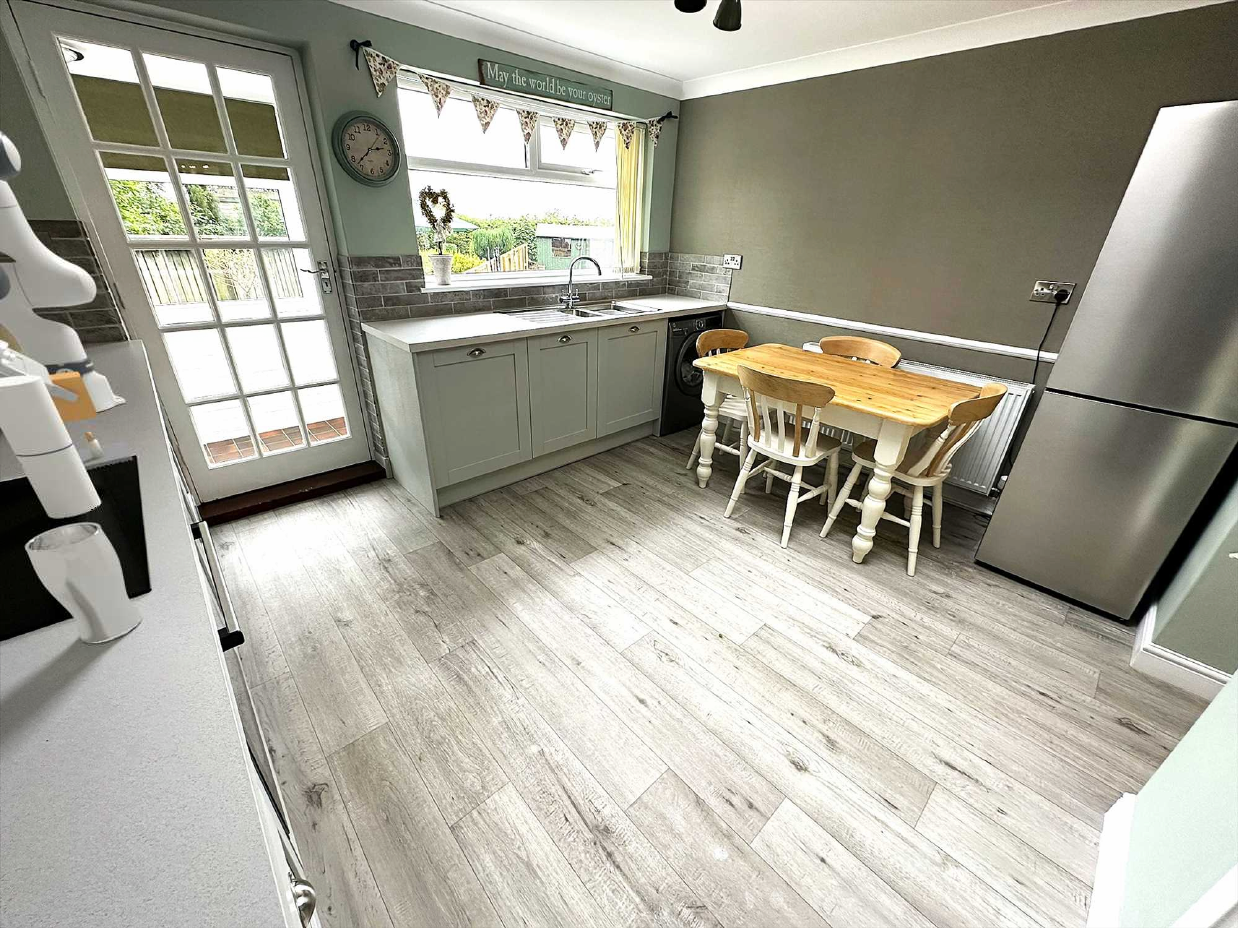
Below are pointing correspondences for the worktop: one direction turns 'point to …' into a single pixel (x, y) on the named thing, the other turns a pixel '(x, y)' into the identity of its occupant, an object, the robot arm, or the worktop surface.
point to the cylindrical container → (44, 447)
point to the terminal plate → (105, 455)
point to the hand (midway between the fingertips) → (74, 395)
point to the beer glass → (84, 579)
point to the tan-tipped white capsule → (93, 446)
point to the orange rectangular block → (83, 403)
